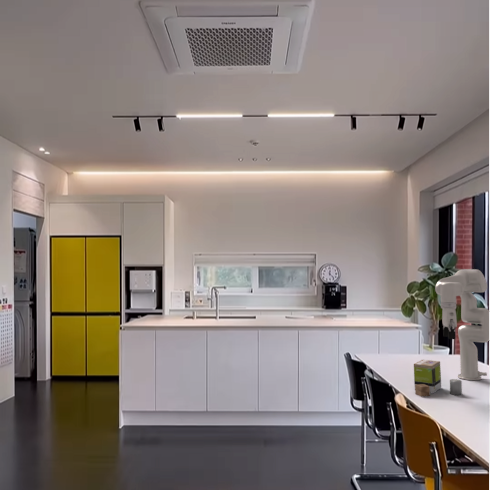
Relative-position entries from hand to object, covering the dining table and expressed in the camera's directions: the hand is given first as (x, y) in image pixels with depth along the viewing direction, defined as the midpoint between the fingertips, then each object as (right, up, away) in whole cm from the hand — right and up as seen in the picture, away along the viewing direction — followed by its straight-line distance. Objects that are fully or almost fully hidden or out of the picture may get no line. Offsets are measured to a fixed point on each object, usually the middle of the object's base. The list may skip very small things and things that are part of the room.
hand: (449, 337), depth 246 cm
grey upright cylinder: (+2, -29, -4) cm, 29 cm away
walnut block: (-17, -29, -6) cm, 34 cm away
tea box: (-9, -29, +5) cm, 31 cm away
